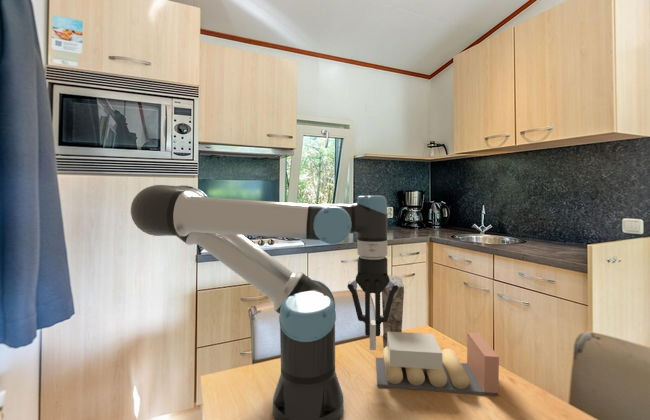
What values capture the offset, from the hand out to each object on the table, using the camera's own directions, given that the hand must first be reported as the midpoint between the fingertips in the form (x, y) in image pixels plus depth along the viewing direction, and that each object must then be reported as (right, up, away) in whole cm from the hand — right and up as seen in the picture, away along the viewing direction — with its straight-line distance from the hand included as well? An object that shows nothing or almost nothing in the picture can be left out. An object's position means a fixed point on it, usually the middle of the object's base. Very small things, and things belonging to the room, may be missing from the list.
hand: (372, 347), depth 79 cm
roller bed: (+14, -7, -2) cm, 16 cm away
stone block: (+8, -6, +15) cm, 18 cm away
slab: (+10, -2, -1) cm, 10 cm away
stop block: (+26, -7, -3) cm, 27 cm away
